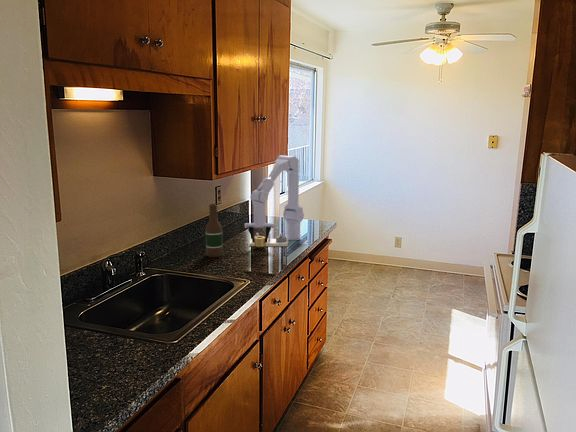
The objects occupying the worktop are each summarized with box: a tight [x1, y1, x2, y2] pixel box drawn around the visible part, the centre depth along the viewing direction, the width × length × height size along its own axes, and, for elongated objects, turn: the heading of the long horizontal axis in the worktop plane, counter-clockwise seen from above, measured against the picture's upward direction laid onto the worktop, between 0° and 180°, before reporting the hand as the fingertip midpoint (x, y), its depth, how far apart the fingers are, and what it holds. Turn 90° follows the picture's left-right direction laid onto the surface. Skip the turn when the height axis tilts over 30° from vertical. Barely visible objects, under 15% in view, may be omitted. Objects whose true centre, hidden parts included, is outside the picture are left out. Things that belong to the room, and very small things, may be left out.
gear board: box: [249, 232, 289, 247], centre depth 243 cm, size 9×19×6 cm, turn 88°
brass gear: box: [253, 235, 267, 248], centre depth 235 cm, size 6×6×4 cm
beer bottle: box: [204, 203, 224, 258], centre depth 222 cm, size 8×8×24 cm
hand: (260, 242), depth 236 cm, fingers closed on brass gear, 6 cm apart
